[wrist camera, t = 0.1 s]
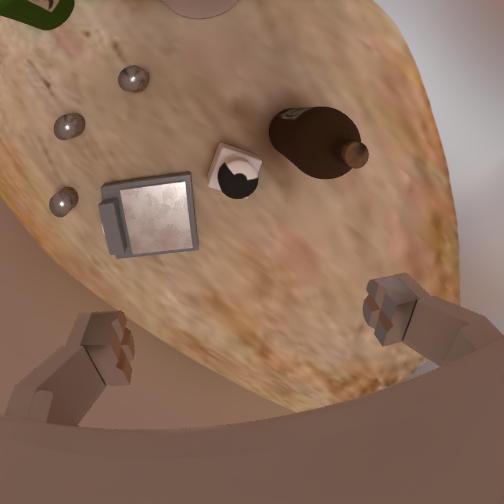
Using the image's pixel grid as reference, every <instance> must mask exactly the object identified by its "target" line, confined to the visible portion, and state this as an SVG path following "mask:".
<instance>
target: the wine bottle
mask: <svg viewBox="0 0 504 504" xmlns="http://www.w3.org/2000/svg"><path fill="white" fill-rule="evenodd" d="M73 7H74V0H0V15H1V16H4V17H7V18H10V19H13V20H16V21H19V22H22V23H25V24H28V25H31V26H34V27H36V28H39V29H42V30H50V29H54V28H56V27H58V26H59V25H61V24H62V23H63V22H64V21H66V19H67V18H68V17H69V16H70V14H71V12H72V10H73Z"/></svg>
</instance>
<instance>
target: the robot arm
mask: <svg viewBox="0 0 504 504" xmlns="http://www.w3.org/2000/svg"><path fill="white" fill-rule="evenodd" d="M161 1H163V2H164V3H165V4H166V5H167V6H168V7H169V8H170V9H171V10H172V11H174V12H175V13H177V14H179V15H182V16H185V17H189V18H198V19H200V18H209V17H214V16H217V15H220V14H222V13H224V12H226V11H227V10H229V9H230V8H231V7H233V6H234V5H235V4H236V2H237V1H238V0H161ZM366 290H367V292H368V294H369V295H368V296H367V297H366V299H365V300H364V303H363V316H364V318H365V321H366V323H367V324H368V326H370V327H372V328H374V329H375V332H374V334H375V336H376V337H377V339H378V340H379V342H380V343H381V345H382V346H387V345H391V344H395V343H398V342H402V341H403V342H402V343H404V344H406V345H407V346H409V347H410V348H412V349H413V350H415V351H417V352H418V353H420V354H421V355H423V356H424V357H426V358H428V359H429V360H431V361H432V362H434V363H436V364H437V365H439V366H440V367H439V368H437V369H435V370H432V371H430V372H428V373H425V374H423V375H420V376H418V377H415V378H413V379H410V380H407V381H405V382H402V383H399V384H397V385H394V386H391V387H388V388H385V389H382V390H379V391H376V392H373V393H370V394H367V395H364V396H361V397H357V398H354V399H351V400H347V401H344V402H340V403H336V404H333V405H329V406H325V407H321V408H317V409H312V410H308V411H304V412H299V413H294V414H289V415H285V416H279V417H274V418H268V419H262V420H256V421H249V422H243V423H236V424H235V423H234V424H226V425H217V426H207V427H195V428H179V429H149V430H148V429H147V430H146V429H145V430H144V429H141V430H137V429H134V430H133V429H131V430H130V429H104V428H89V427H80V426H79V425H78V424H79V422H80V421H81V420H82V418H83V417H84V416H85V414H86V413H87V411H88V410H89V409H90V408H91V406H92V405H93V404H94V402H95V401H96V400H97V398H98V397H99V396H100V394H101V393H102V392H103V391H104V389H105V388H106V386H116V385H117V386H118V385H130V381H131V374H132V368H131V366H130V362H131V361H132V360H133V359H134V353H135V349H134V340H133V336H132V333H131V331H130V330H129V329H127V328H126V322H127V319H126V317H125V314H124V312H122V311H102V312H84V313H80V314H78V316H77V319H76V321H75V323H74V326H73V328H72V331H71V333H70V335H69V338H68V340H67V343H66V345H65V346H61V347H60V348H59V349H58V350H56V351H55V352H54V353H53V354H52V355H50V356H49V357H48V358H47V359H46V360H44V361H43V362H42V363H41V364H40V365H39V366H37V367H36V368H35V369H34V370H33V371H32V372H30V373H29V374H28V375H27V376H26V377H25V378H23V380H21V381H20V382H19V383H18V384H17V385H15V387H14V390H13V392H12V395H11V397H10V400H9V403H8V406H7V408H6V411H5V414H4V415H2V414H0V504H504V335H503V334H502V333H501V332H500V331H499V330H498V329H497V328H496V327H495V326H494V325H493V324H492V323H491V322H490V321H489V320H488V319H487V318H486V317H485V316H483V315H480V314H478V313H475V312H473V311H471V310H468V309H465V308H463V307H461V306H458V305H456V304H453V303H451V302H448V301H446V300H443V299H441V298H438V297H436V296H432V297H431V296H430V295H429V294H428V293H427V292H426V291H425V290H424V289H423V288H422V287H421V286H420V285H419V284H418V283H417V282H416V281H415V280H414V279H413V278H412V277H411V276H410V275H409V274H407V273H401V274H396V275H393V276H389V277H383V278H378V279H372V280H370V281H369V282H368V285H367V289H366Z"/></svg>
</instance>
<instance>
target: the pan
mask: <svg viewBox="0 0 504 504" xmlns="http://www.w3.org/2000/svg"><path fill="white" fill-rule="evenodd" d="M120 193H121V199H122V204H123V210H124V215H125V220H126V225H127V230H128V235H129V239H130V244H131V248H132V253H133V254H142V253H151V252H160V251H169V250H178V249H188V248H193V244H192V236H191V228H190V220H189V211H188V202H187V193H186V183H185V181H180V182H171V183H163V184H155V185H148V186H140V187H133V188H126V189H121V190H120Z"/></svg>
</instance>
